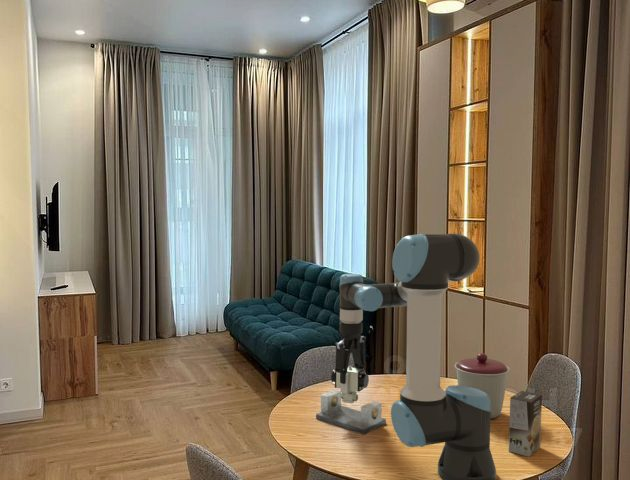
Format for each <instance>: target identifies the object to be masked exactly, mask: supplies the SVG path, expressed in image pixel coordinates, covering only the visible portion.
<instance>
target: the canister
mask: <svg viewBox="0 0 630 480" xmlns="http://www.w3.org/2000/svg"><path fill="white" fill-rule="evenodd" d="M454 369H456V378H457V385H458V386H466V387H471V388H475V389H478V390H481V391H483V392H485V393H486V394H487V395H488V396H489V398H490V405H491V415H490V420H491V419H495V418H498V416H500V415H501V413H502V410H503V406H504V400H505V394H506V388H507V378H508V374H509V372H510V370H511V369H510V367H509V366H507V365H506V364H505V363H503V362H501V361H499V360H495V359H493V358H492V359H491V358H488V356H487V354H486V353H484V352H479V353H477V355H476V357H467V358H463V359H461V360H459V361H457V362H455V364H454Z"/></svg>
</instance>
